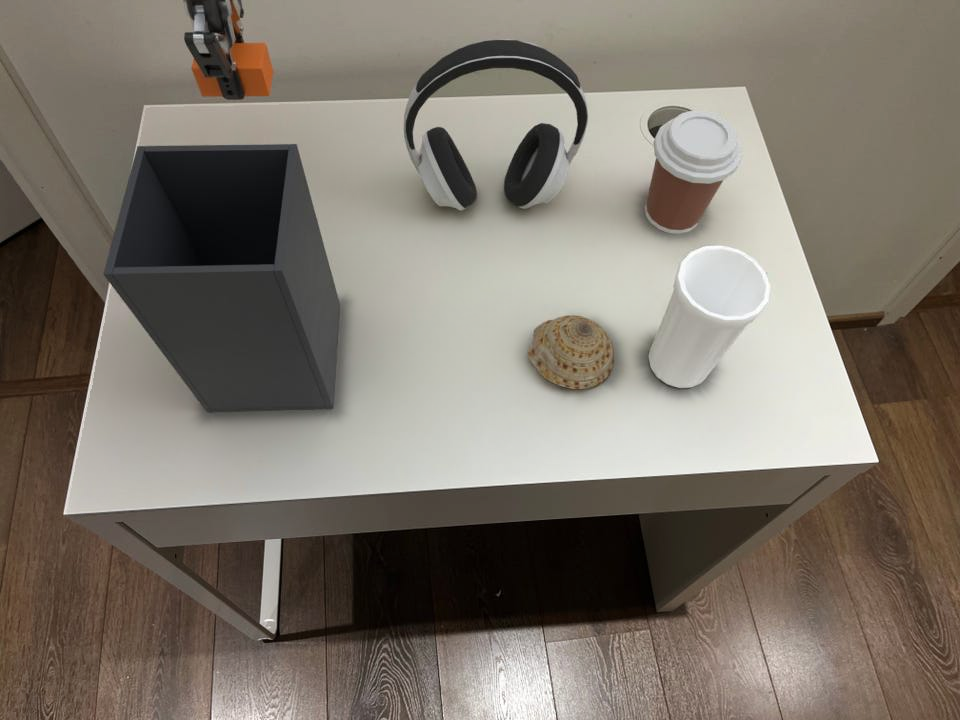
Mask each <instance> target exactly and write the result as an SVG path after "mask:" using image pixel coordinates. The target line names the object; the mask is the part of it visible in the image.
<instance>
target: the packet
mask: <svg viewBox="0 0 960 720" xmlns="http://www.w3.org/2000/svg"><path fill="white" fill-rule="evenodd" d="M232 48H233V52H234V57H235V61H236V63H237V68H238V71H239V75H240V78H241V81H242V84H243V87H244V90H245V96H244V98H246V97H271V89H272V84H273V83H272V82H273V76H274V69H273V64H272V61H271V57H270V54H269V49H268V46H267V43H266V42H244V43H234V45H233V47H232ZM222 49H223V48H222ZM223 51H224V53H225V50H224V49H223ZM225 55H226V54H225ZM190 69H191V71H192V74H193V77H194V79H195V81H196V85H197V88H198V89H199V92H200V94H201V97H202V98H216V97H217V98H218V97H220V98H222V97H223V96H222V93H221V90H220V87H219V84H218V82H217V79H216V77H211V78H206V77H205V76H204V74H203V73H202V71H201V69H200V68H199V66H198V64H197V62H196V61H195V59H194V58H193V60H192V64H191V68H190ZM223 98H224V97H223Z"/></svg>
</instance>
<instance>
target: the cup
mask: <svg viewBox="0 0 960 720" xmlns="http://www.w3.org/2000/svg"><path fill="white" fill-rule="evenodd" d="M771 292H772V288H771V284H770V281H769V279H768V276H767V272H766V271H765V270H764V269H763V267H762V266H761V265H760V264H759V262H757V261H756V259H755V258H753V257H751V256H750V255H748V254H746V253H745V252H743V251H742V250H741V249H736V248H733V247H729V246H725V245H705V246H702V247H700V248H698V249H695V250H692V251H690V252H688V253H687V254H686V255H685V256H684V257H683V259H682V260H681V261H679V263H678V265H677V269H676V273H675V277H674V281H673V291H672V293H671V296H670V299H669V301H668V303H667V306H666V309H665V311H664V314H663V317H662V319H661V322H660V324H659V327H658V329H657V332H656V335H655V337H654V340H653V341H652V342H653V343H652V345H651V346H650V348H649V353H648V361H649V366H650V369H651V370H652V372H653V374H654V375H655V376H656V378H657V379H659V380H661V381H662V382H663V383H665V385H668V386H671V387H675V388H677V389H689V388H690V389H691V388H693V387H696V386H698V385H700V384H702V383H704V381H705V379H706V378H707V377H708V376H709V374H710V373H711V372H712V371H713V370H714V368H715V367H716V366H717V364H718V363H719V362H720V361H721V360H722V359H723V356H725V354H726V353H727V352H728V350H730V348H731V347H732V345H733V344H734V343H735V342H736V340H737V339H738V338H739V337H740V335H741V334H742V333H743V332H744V330H745V329H746V327H747V326H748V325H749V324H751V323H753V322H754V321H755V320H756V319H757V318H758V317H760V316H761V314H762V313H763V312H764V310H765V309H766V308H767V306H768V305H769V304H770V298H771Z"/></svg>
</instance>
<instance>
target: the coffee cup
mask: <svg viewBox="0 0 960 720" xmlns="http://www.w3.org/2000/svg"><path fill="white" fill-rule="evenodd" d="M653 152H654V156H655V162H654V166H653V170H652V176H651V179H650V184H649V189H648V193H647V196H646V197H647V198H646V202H645V205H644V210H645V211H644V212H645V216H646V218H647V219H648V221H649V224H651V225H652V226H654V228H656V229H657V230H659V231H663V232H665V233H667V234H674V235H675V234H676V235H681V234H685V233H689V232H691V231H692V230H693V229H695V228H696V227H697V226H698V224H699V223H700V220H701V218H702V217H703V215H704V213H706V210H707V208H709V205H710V203H711V202H712V200H713V199H714V197H715V195H716V193H717V192H718V190H719V188H720V187H721V185H722V183H723V182H724V181H725V180H727V179H728V178H729V177H731V176H732V175H733V174H735V172H737V170H738V168H739V165H740V162H741V160H742V157H743V151H742V146H741V141H740V140H739V138H738V133H737V130H736V129H735V127H734V126H733V125H732V123H731V122H730V121H729V120H727V119H725V118H724V117H723V116H721V115H720V114H718V113H714V112H711V111H708V110H695V109H694V110H690V111H686V112H682V113H680V114H678V115H676V117H674V118H671V119H669V121H667V122H666V123H664V124H663V125H661V126H660V127H659V128H658V131H657V133H656V135H655V137H654V140H653Z"/></svg>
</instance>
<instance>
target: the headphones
mask: <svg viewBox="0 0 960 720" xmlns="http://www.w3.org/2000/svg"><path fill="white" fill-rule="evenodd" d="M490 69H515V70H522V71H526V72H532V73H535V74H537V75H538V76H542V77H544V78H546V79H547V80H550V81H552V82H553V83H554V84H555V85H557V86H558V87H560V89H562V90H563V91H564V92H565V93H566V94H567V95H568V97H569V98H570V100H571V101H572V103H573V105H574V108H575V111H576V112H575V113H576V123H577V124H576V130H575V135H574V139H573V142H572V143H571V145H570V148H569V149H568V151H567V149H566V146H565V135H564V133H563V132H562V131H561V130H560V129H559V128H558V127H556V126H554V125H553V124H551V123H544V122H540V123H538V124H536V125H533V127H532V128H531V129H530V130H528V132H527V133H526V134H525V135H524V137H523V138H522V140H521V141H520V143H519V144H518V146H517V147H516V150H515V152H514V154H513V155H512V158H511V160H510V163H509V165H508V167H507V170H506V173H505V175H504V182H503V192H504V196H505V197H506V198H507V200H508V201H509V202H510V203H511V204H512V205H514V206H515V207H516V208H520V209H530V208H531V207H534V206H535V205H537V204H545V203H550V202H551V201H552V200H553V199H554V198H556V196H557V195H558V194H559V192H560V191H561V189H562V188H563V186H564V184H565V182H566V179H567V176H568V175H569V169H570V164H571V163H572V161H573V160H574V159H575V156H576V155H577V153H578V151H579V149H580V147H581V145H582V143H583V141H584V138H585V135H586V131H587V128H588V123H589V122H588V121H589V110H588V109H589V107H588V102H587V97H586V95H585V93H584V91H583V88H582V87H581V83H580V81H579V77H578V74H576V73H575V72H574V70H573V69H572V67H570V66H569V65H568V64H567V63H566V62H564V60H562V59H561V58H560V57H559V56H557V55H556V54H554V53H552V52H550V51H549V50H548V49H546V48H544V47H541V46H539V45H537V44H535V43H532V42H527V41H522V40H518V39H512V38H508V39H507V38H504V39H503V38H500V39H497V38H496V39H486V40H480V41H476V42H473V43H470V44H467V45H464V46H461V47H459V48H457V49H455V50H453V51H451V52H449V53H447V54H445V56H443V57H442V58H440V59H439V60H438V61H436V62H435V63H434V64H432V65H431V66H430V67H429V68H428V69H427V70H426V71H425V72H424V73H422V74H421V75H420V77H419V79H418V81H417V82H416V84H415V85H414V87H413V89H412V90H411V93H410V94H409V97H408V100H407V101H406V102H407V103H406V106H405V109H404V114H403V138H404V143H405V146H406V149H407V152H408V156H409V158H410V161H411V163H412V164H413V166H414V168H415V170H416V171H417V173H418V174H419V176H420V179H421V182H422V183H423V186H424V187H425V189H426V191H427V193H428V194H429V196H430V197H431V199H432V200H433V201H434V202H435V204H436V205H438V206H439V207H450V208H454V209H456V210H458V211H464V210H466V209H468V208H469V207H470V206H471V205H473V204H474V203H475V201H476V200H477V197H478V190H477V186H476V183H475V181H474V178H473V176H472V174H471V172H470V170H469V168H468V166H467V164H466V162H465V160H464V158H463V156H462V154H461V153H460V150H459V149H458V147H457V146H456V143H455V142H454V140H453V138H452V137H451V135H450V133H449V132H448V131H447V130H446V128H445V127H442V126H435V127H431V128H430V129H429V130H427V131H426V132H424V133H423V134H422V138H421V145H420V148H419V150H418V151H417V149H416V147H415V141H414V128H415V122H416V119H417V116H418V114H419V111H420V110H421V108H422V107H423V106H424V104H425V103H426V102H427V101H428V99H429V98H430V97H431V96H433V95H434V94H435V93H436V92H437V91H439V90H440V89H441V88H443V87H445V86H446V85H448V84H449V83H450V82H452V81H454V80H456V79H458V78H460V77H462V76H466V75H469V74H472V73H475V72H479V71H486V70H490Z"/></svg>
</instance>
